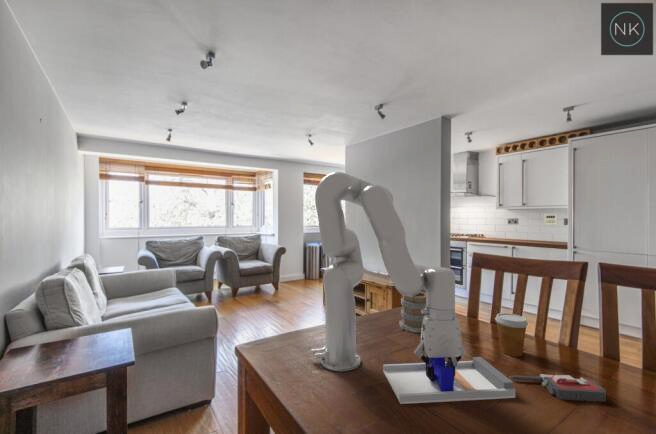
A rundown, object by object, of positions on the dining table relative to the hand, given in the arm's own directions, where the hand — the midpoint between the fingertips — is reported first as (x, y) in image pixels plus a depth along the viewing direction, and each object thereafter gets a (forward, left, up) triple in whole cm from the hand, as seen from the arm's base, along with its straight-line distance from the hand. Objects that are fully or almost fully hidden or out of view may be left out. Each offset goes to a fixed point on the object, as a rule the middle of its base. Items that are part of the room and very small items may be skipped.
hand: (440, 378), depth 81 cm
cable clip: (0, 0, -1) cm, 1 cm away
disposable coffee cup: (+33, +17, -2) cm, 37 cm away
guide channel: (+1, 0, -2) cm, 2 cm away
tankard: (+13, +42, -2) cm, 44 cm away
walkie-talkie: (+30, -5, -2) cm, 30 cm away
